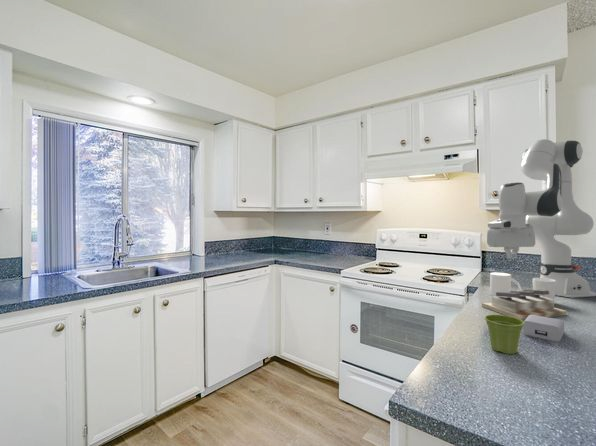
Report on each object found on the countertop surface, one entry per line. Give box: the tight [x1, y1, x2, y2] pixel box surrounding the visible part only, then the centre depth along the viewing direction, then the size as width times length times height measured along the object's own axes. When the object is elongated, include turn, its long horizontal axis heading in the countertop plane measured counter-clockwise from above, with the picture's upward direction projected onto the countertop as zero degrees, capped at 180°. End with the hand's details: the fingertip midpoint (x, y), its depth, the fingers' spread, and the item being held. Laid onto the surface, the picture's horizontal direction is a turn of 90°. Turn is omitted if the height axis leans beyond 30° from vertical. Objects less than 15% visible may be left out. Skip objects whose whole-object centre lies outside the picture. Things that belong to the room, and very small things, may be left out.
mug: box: [489, 271, 522, 297], centre depth 143 cm, size 8×10×12 cm
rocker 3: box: [522, 289, 549, 295], centre depth 123 cm, size 3×8×2 cm, turn 14°
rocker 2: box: [510, 290, 535, 296], centre depth 122 cm, size 3×8×2 cm, turn 14°
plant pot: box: [484, 314, 524, 355], centre depth 87 cm, size 9×9×9 cm
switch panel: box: [481, 295, 568, 321], centre depth 122 cm, size 22×17×6 cm
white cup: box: [532, 277, 556, 300], centre depth 132 cm, size 8×8×10 cm
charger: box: [522, 315, 565, 342], centre depth 100 cm, size 5×9×15 cm
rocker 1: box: [496, 292, 521, 298], centre depth 120 cm, size 3×8×2 cm, turn 14°
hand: (511, 258), depth 121 cm, fingers closed
